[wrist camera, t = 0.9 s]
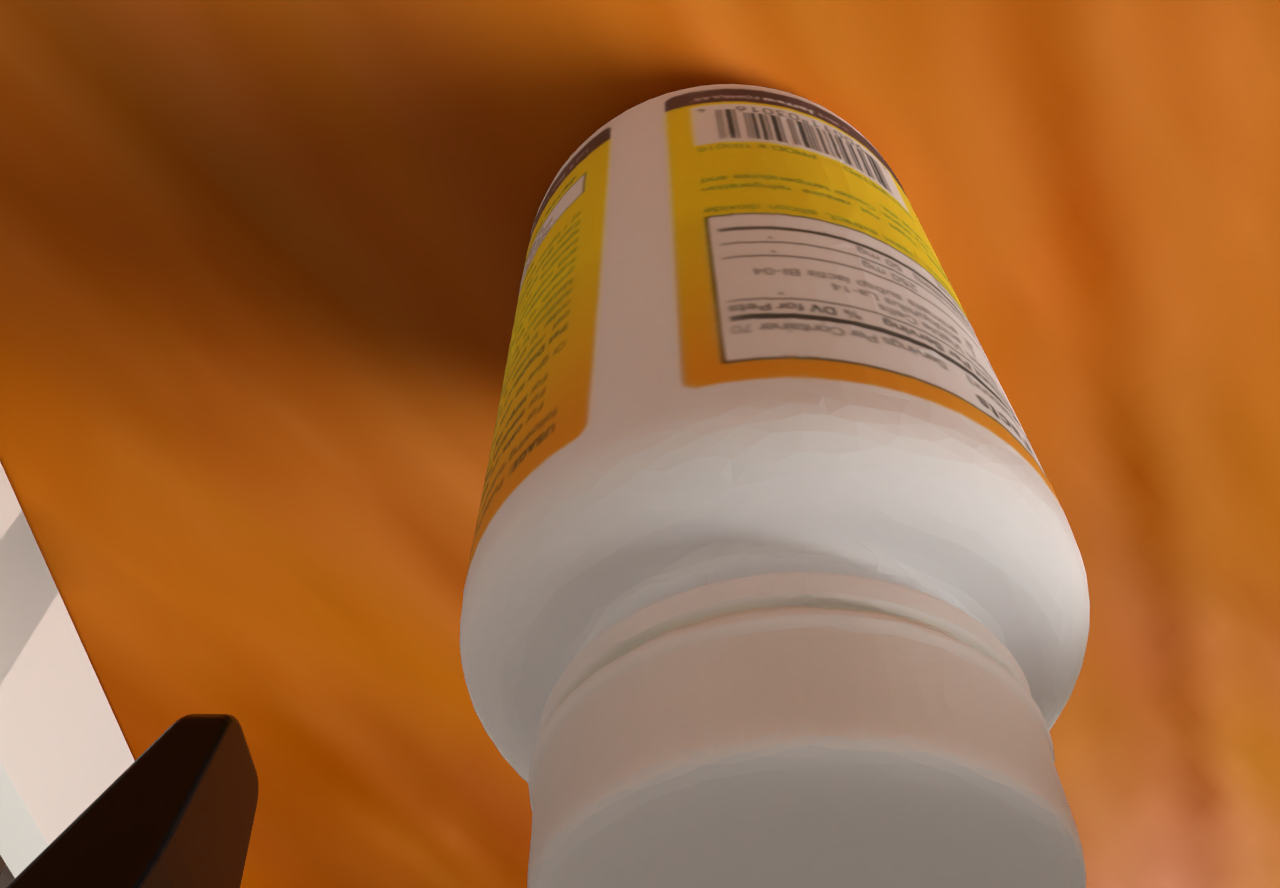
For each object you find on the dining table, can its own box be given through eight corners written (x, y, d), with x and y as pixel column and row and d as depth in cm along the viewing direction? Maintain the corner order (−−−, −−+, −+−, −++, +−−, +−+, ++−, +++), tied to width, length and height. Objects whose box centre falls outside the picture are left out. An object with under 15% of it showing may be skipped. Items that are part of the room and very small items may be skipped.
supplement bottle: (610, 449, 18) (580, 1132, 10) (467, 148, 15) (240, 779, 6) (942, 354, 17) (1230, 1038, 8) (864, 5, 14) (1200, 553, 5)
